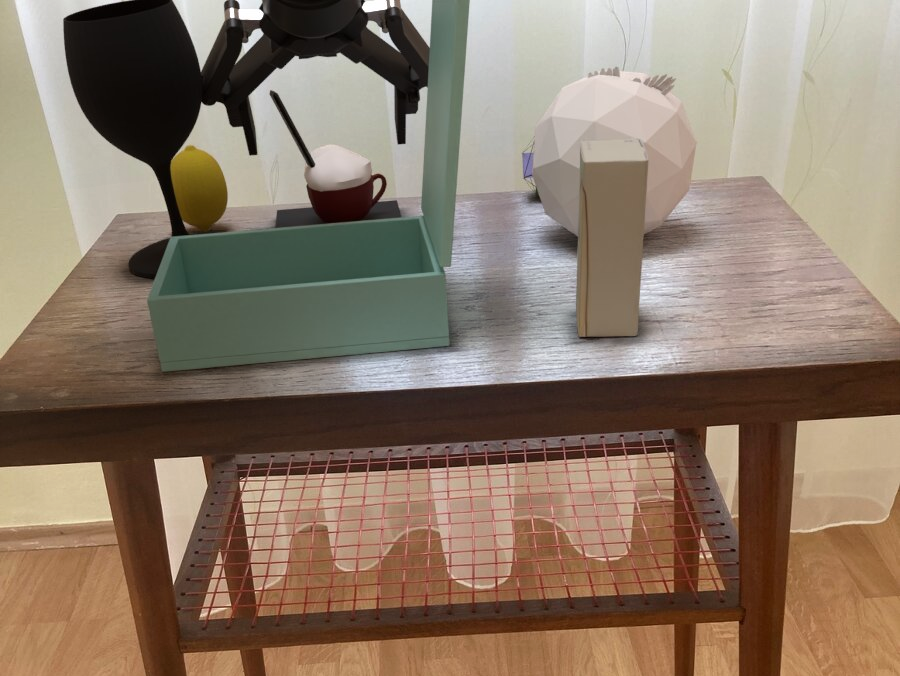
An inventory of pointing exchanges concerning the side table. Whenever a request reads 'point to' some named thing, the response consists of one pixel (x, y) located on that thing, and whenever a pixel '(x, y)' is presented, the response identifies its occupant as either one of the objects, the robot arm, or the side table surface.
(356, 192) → the cocoa
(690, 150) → the geodesic sphere
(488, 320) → the side table surface
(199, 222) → the lemon
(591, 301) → the cosmetic box
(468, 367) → the side table surface
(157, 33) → the wine glass
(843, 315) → the side table surface
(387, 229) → the teal open box
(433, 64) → the lid
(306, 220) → the mat
